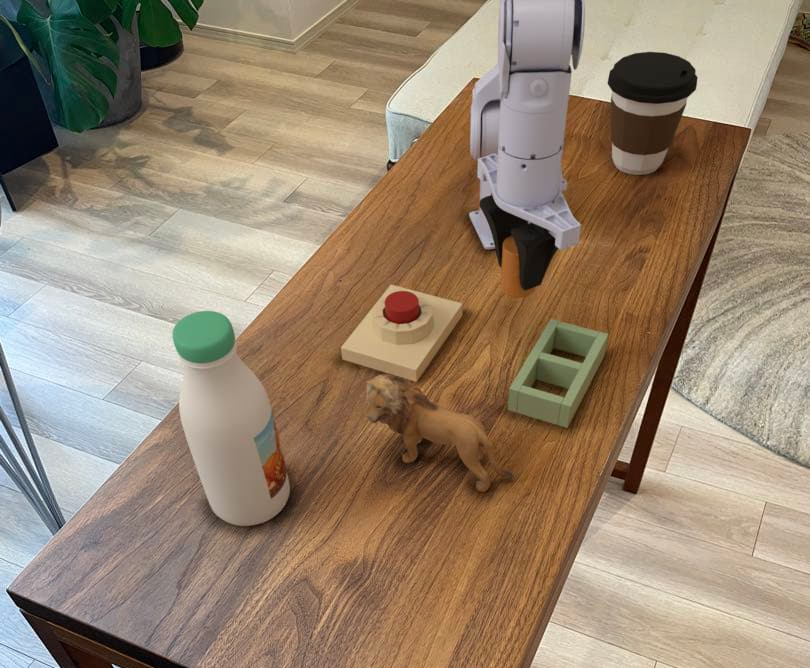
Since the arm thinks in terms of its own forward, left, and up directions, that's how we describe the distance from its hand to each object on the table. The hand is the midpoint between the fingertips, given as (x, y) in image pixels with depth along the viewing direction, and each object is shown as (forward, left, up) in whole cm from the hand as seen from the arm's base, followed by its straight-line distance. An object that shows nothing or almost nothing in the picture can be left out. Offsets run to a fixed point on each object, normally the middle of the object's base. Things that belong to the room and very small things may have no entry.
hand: (520, 275), depth 84 cm
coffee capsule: (0, 0, -1) cm, 1 cm away
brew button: (+12, -4, -5) cm, 13 cm away
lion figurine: (+13, +15, -9) cm, 22 cm away
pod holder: (-2, +7, -9) cm, 12 cm away
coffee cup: (-26, -31, -9) cm, 42 cm away
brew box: (+12, -4, -9) cm, 15 cm away
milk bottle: (+31, +15, -9) cm, 35 cm away
